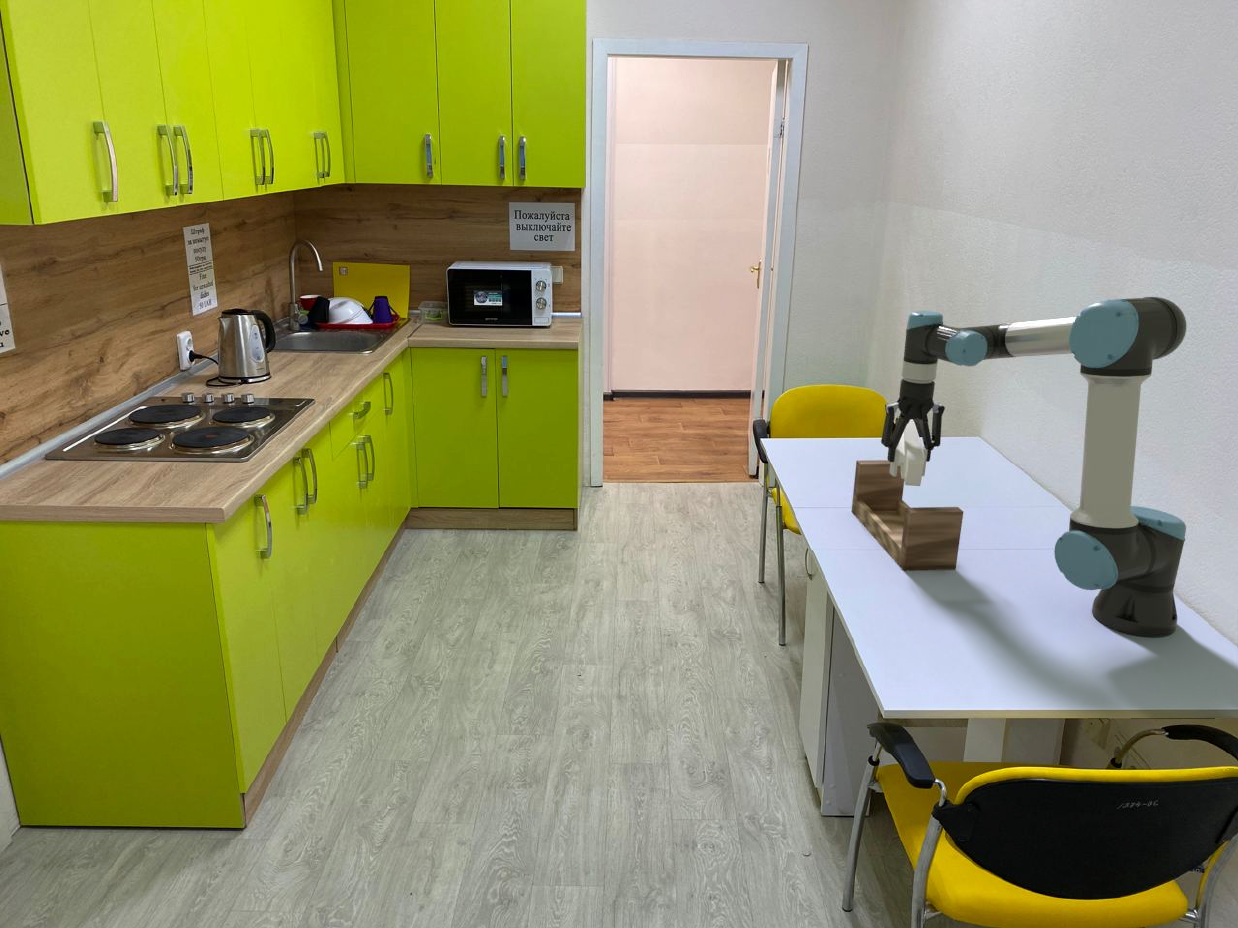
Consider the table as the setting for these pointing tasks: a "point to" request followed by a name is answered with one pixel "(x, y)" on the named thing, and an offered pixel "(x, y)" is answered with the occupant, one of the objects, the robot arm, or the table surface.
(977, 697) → the table surface
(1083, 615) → the table surface
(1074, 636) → the table surface
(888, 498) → the cradle
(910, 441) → the shelf bracket
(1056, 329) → the robot arm
